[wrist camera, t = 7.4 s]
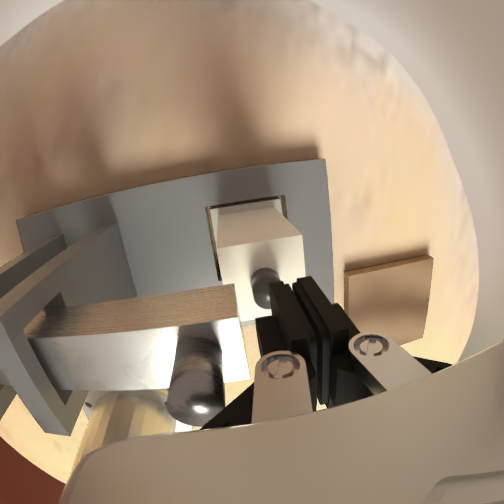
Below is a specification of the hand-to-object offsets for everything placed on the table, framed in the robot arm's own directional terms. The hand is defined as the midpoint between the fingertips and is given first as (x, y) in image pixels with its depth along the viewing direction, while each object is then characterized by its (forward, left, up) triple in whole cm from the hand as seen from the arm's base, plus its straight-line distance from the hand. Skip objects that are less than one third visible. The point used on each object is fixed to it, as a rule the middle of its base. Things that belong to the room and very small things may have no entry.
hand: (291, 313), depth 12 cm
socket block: (-1, +7, -12) cm, 14 cm away
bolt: (0, +13, -1) cm, 13 cm away
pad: (-9, -11, -12) cm, 19 cm away
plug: (0, +1, -12) cm, 12 cm away
